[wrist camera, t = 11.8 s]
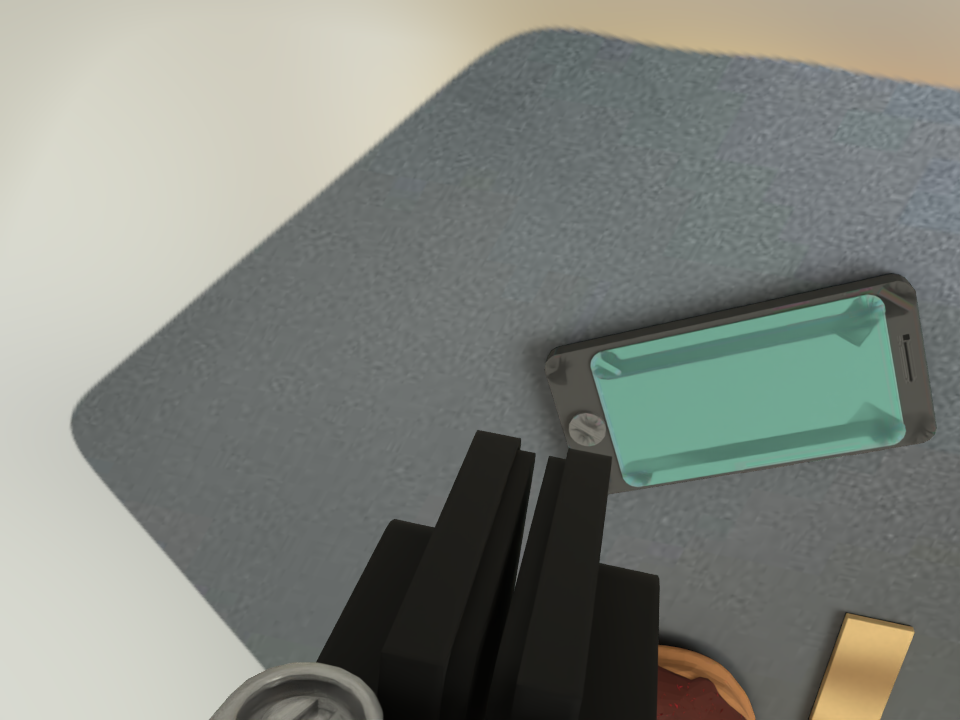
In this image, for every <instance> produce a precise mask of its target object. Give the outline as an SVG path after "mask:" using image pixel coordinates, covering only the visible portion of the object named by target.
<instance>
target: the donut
mask: <svg viewBox="0 0 960 720" xmlns="http://www.w3.org/2000/svg"><path fill="white" fill-rule="evenodd" d="M657 720H755V715H754V712H753V709H752V706H751V704H750V701H749V699H748V697H747V695H746V693H745V692H744V690H743V689H742V687H741V686H740V685H739V684H738V682H737V681H736V680H735V679H734V677H733V676H732V675H731V674H730V672H729V671H728V670H726V669H725V668H724V667H723V666H722V665H721V664H719V663H718V662H716V661H714V660H713V659H711V658H709V657H707V656H704V655H702V654H699V653H697V652H694V651H690V650H687V649H683V648H677V647H672V646H665V645H658V686H657Z"/></svg>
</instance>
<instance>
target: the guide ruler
mask: <svg viewBox="0 0 960 720" xmlns="http://www.w3.org/2000/svg"><path fill="white" fill-rule="evenodd" d="M914 633H915V632H914V629H913V627H910V626H905V625H901V624H896V623H891V622H887V621H882V620H877V619H872V618H868V617H863V616H858V615H854V614H849V613H846V616H845V619H844V621H843V624H842V627H841V630H840V633H839V635H838V638H837V641H836V644H835V647H834V650H833V652H832V655H831V658H830V661H829V664H828V666H827V669H826V672H825V675H824V678H823V681H822V683H821V686H820V689H819V692H818V695H817V698H816V700H815V703H814V706H813V709H812V712H811V714H810V717H809V720H880V718H881V715H882V713H883V710H884V708H885V705H886V703H887V700H888V698H889V695H890V693H891V690H892V688H893V685H894V683H895V680H896V678H897V675H898V673H899V670H900V668H901V665H902V663H903V660H904V658H905V655H906V653H907V650H908V648H909V645H910V643H911V640H912V638H913V635H914Z"/></svg>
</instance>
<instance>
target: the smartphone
mask: <svg viewBox="0 0 960 720" xmlns="http://www.w3.org/2000/svg"><path fill="white" fill-rule="evenodd" d="M545 373H546V376H547V380H548V383H549V386H550V389H551V393H552V396H553V399H554V402H555V405H556V409H557V412H558V415H559V418H560V422H561V425H562V428H563V431H564V434H565V438H566V441H567V444H568V447H569V448H571V449H577V450H582V451H587V452H592V453H597V454H602V455H607V456H612V464H611V472H610V480H609V488H608V494H614V493H620V492H626V491H632V490H638V489H645V488H651V487H657V486H663V485H669V484H675V483H681V482H687V481H693V480H700V479H706V478H712V477H718V476H724V475H730V474H736V473H746V472H752V471H758V470H764V469H770V468H776V467H782V466H788V465H794V464H797V463H803V462H813V461H819V460H825V459H831V458H837V457H842V456H846V455H856V454H862V453H868V452H874V451H880V450H885V449H889V448H895V447H901V446H907V445H914V444H920V443H924V442H926V441H928V440H930V439H931V438H932V437H933V436H934V434H935V432H936V429H937V426H936V419H935V413H934V406H933V400H932V394H931V387H930V381H929V374H928V368H927V362H926V355H925V349H924V342H923V336H922V329H921V323H920V317H919V310H918V304H917V297H916V291H915V290H914V288H913V287H912V286H911V284H910V283H909V282H908V281H907V279H906V278H904V277H902V276H901V275H897V274H889V275H884V276H879V277H875V278H870V279H866V280H861V281H857V282H852V283H848V284H843V285H838V286H834V287H829V288H825V289H820V290H816V291H811V292H807V293H802V294H797V295H793V296H788V297H784V298H779V299H775V300H770V301H766V302H761V303H756V304H752V305H747V306H743V307H738V308H734V309H729V310H725V311H720V312H715V313H711V314H706V315H702V316H697V317H693V318H688V319H684V320H679V321H674V322H670V323H665V324H661V325H656V326H652V327H647V328H643V329H638V330H633V331H629V332H624V333H620V334H615V335H611V336H606V337H602V338H597V339H592V340H588V341H583V342H579V343H574V344H570V345H565V346H561V347H556V348H555V349H554V350H552V351H551V353H550V354H549V356H548V358H547V361H546V364H545Z"/></svg>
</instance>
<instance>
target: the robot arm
mask: <svg viewBox="0 0 960 720" xmlns="http://www.w3.org/2000/svg"><path fill="white" fill-rule="evenodd" d="M520 447H521V438H516V437H511V436H506V435H501V434H496V433H491V432H486V431H480V430H477V432H476V434H475V436H474V438H473V441H472V443H471V445H470V448H469V450H468V452H467V455H466V457H465V459H464V461H463V464H462V466H461V468H460V471H459V473H458V475H457V478H456V480H455V482H454V485H453V487H452V489H451V491H450V494H449V496H448V498H447V501H446V503H445V505H444V508H443V510H442V512H441V515H440V517H439V519H438V521H437V524H436V526H435V528H434V527H429V526H425V525H420V524H415V523H411V522H406V521H401V520H397V519H394V520H392V521H390V523H389V525H388V526H387V528H386V529H385V531H384V533H383V535H382V537H381V539H380V541H379V543H378V545H377V547H376V549H375V550H374V552H373V554H372V556H371V558H370V560H369V562H368V564H367V566H366V568H365V570H364V572H363V573H362V575H361V577H360V579H359V581H358V583H357V585H356V587H355V589H354V591H353V593H352V595H351V596H350V598H349V600H348V602H347V604H346V606H345V608H344V610H343V612H342V614H341V616H340V618H339V619H338V621H337V623H336V625H335V627H334V629H333V631H332V633H331V635H330V637H329V639H328V641H327V643H326V644H325V646H324V648H323V650H322V652H321V654H320V656H319V658H318V660H317V662H316V663H290V664H286V665H281V666H277V667H273V668H269V669H267V670H265V671H263V672H261V673H259V674H257V675H255V676H253V677H251V678H249V679H248V680H246V681H245V682H244V683H243V684H242V685H241V686H240V687H239V688H237V689H236V690H235V691H234V692H233V693H232V694H231V695H230V696H229V697H228V698H227V699H226V701H225V702H224V703H223V704H222V705H221V706H220V708H219V709H218V710H217V711H216V712H215V713H214V715H213V716H212V717H211V718H210V719H209V720H657V686H658V638H659V590H660V586H659V577H658V575H653V574H648V573H644V572H639V571H634V570H630V569H625V568H620V567H616V566H611V565H606V564H602V563H599V560H600V552H601V544H602V536H603V528H604V520H605V512H606V504H607V496H608V488H609V480H610V472H611V464H612V456H607V455H602V454H597V453H592V452H587V451H582V450H577V449H571V448H569V449H568V453H567V457H566V459H562V458H557V457H552V456H549V458H548V462H547V466H546V470H545V474H544V478H543V482H542V485H541V489H540V493H539V497H538V501H537V505H536V509H535V512H534V516H533V520H532V524H531V528H530V532H529V536H528V540H527V543H526V547H525V551H524V555H523V559H522V563H521V567H520V571H519V574H518V578H517V582H516V576H517V569H518V563H519V557H520V551H521V544H522V538H523V532H524V526H525V519H526V513H527V507H528V501H529V495H530V488H531V482H532V476H533V470H534V463H535V453H532V452H527V451H522V450H520ZM515 582H516V586H515ZM514 588H515V590H514Z"/></svg>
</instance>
